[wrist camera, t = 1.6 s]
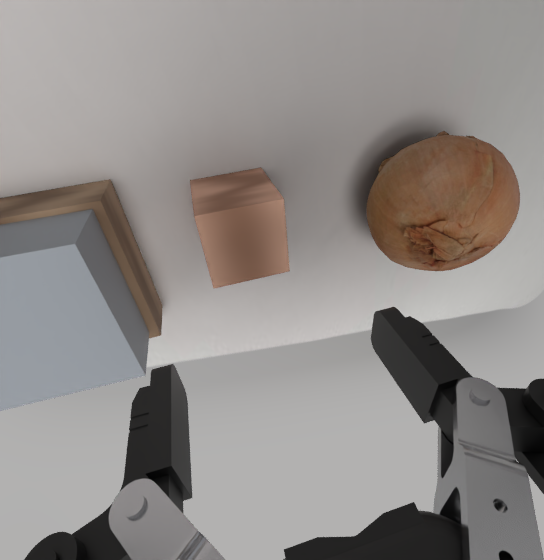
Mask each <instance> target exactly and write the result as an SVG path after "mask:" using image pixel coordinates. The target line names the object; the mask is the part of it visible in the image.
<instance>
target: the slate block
mask: <svg viewBox="0 0 544 560" xmlns="http://www.w3.org/2000/svg"><path fill="white" fill-rule="evenodd" d="M148 342H149V330H148V328H147V326H146V324H145V322H144V319H143V317H142V315H141V313H140V311H139V309H138V306H137V304H136V302H135V300H134V298H133V296H132V293H131V291H130V289H129V287H128V285H127V283H126V280H125V278H124V276H123V274H122V272H121V270H120V267H119V265H118V263H117V261H116V259H115V257H114V254H113V252H112V250H111V248H110V246H109V243H108V241H107V239H106V237H105V235H104V233H103V230H102V228H101V226H100V224H99V222H98V220H97V217H96V215H95V213H94V211H93V209H90V210H84V211H78V212H72V213H66V214H60V215H54V216H49V217H43V218H37V219H31V220H25V221H19V222H13V223H7V224H1V225H0V411H2V410H6V409H10V408H15V407H18V406H22V405H27V404H31V403H35V402H39V401H43V400H47V399H51V398H55V397H59V396H63V395H68V394H72V393H76V392H80V391H84V390H88V389H92V388H96V387H100V386H104V385H108V384H112V383H116V382H121V381H125V380H129V379H133V378H137V377H141V376H145V374H146V364H147V353H148Z"/></svg>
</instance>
